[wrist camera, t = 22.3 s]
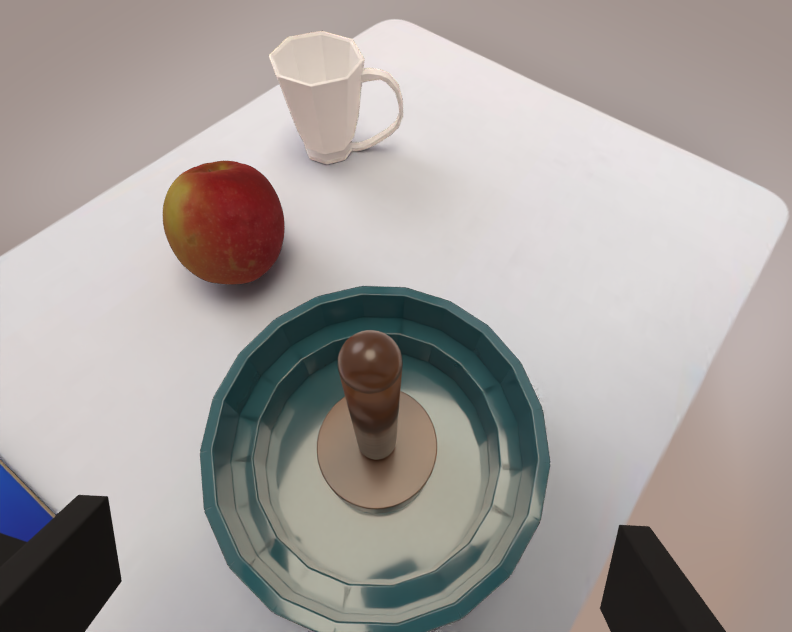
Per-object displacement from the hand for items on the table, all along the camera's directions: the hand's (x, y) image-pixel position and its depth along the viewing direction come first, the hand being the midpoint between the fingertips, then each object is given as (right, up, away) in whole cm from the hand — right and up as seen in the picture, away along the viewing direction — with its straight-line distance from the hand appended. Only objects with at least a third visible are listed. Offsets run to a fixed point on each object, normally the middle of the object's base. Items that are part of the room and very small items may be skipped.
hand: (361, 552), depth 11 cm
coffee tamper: (0, -2, +14) cm, 14 cm away
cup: (-4, +21, +28) cm, 35 cm away
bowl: (0, -2, +14) cm, 15 cm away
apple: (-11, +10, +21) cm, 26 cm away
